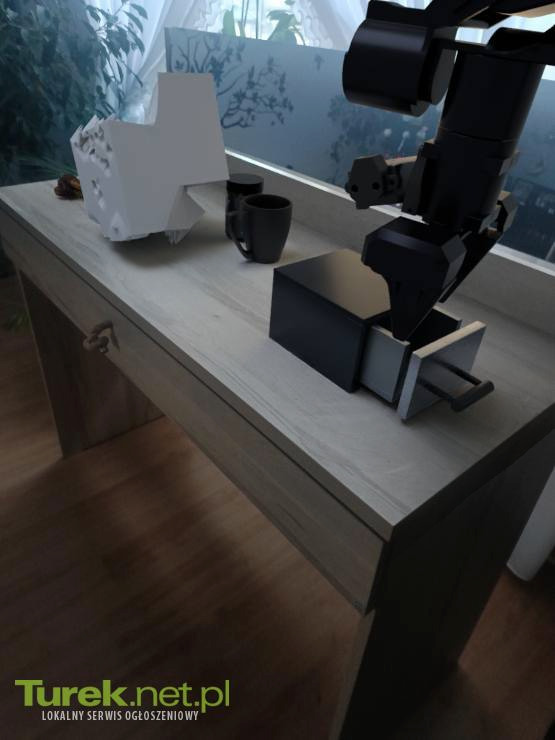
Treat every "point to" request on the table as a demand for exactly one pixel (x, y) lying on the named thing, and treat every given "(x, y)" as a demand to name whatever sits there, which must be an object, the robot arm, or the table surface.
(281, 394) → the table surface
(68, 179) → the brown lumpy mound
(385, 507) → the table surface
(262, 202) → the mug
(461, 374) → the drawer
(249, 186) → the supplement container
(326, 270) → the cabinet
